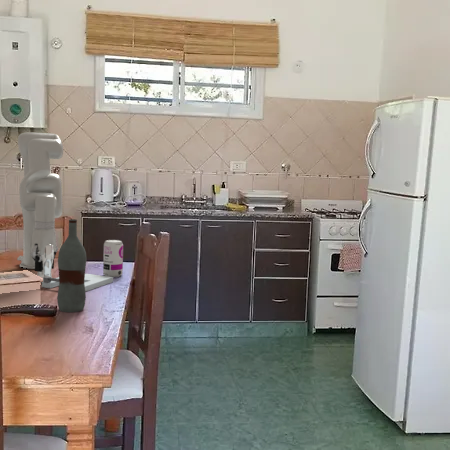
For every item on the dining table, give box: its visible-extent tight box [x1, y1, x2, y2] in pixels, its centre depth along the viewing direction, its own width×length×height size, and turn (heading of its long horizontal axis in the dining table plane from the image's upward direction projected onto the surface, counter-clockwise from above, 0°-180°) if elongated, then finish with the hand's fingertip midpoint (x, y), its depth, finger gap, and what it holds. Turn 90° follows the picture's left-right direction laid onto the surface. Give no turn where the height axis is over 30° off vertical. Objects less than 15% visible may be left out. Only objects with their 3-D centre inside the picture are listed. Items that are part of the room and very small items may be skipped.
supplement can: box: [102, 239, 124, 278], centre depth 240 cm, size 8×8×15 cm
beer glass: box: [36, 244, 54, 278], centre depth 223 cm, size 7×7×15 cm
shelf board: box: [41, 272, 114, 293], centre depth 220 cm, size 18×22×4 cm
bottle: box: [56, 218, 87, 313], centre depth 184 cm, size 9×9×30 cm
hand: (44, 269), depth 224 cm, fingers closed on beer glass, 6 cm apart
